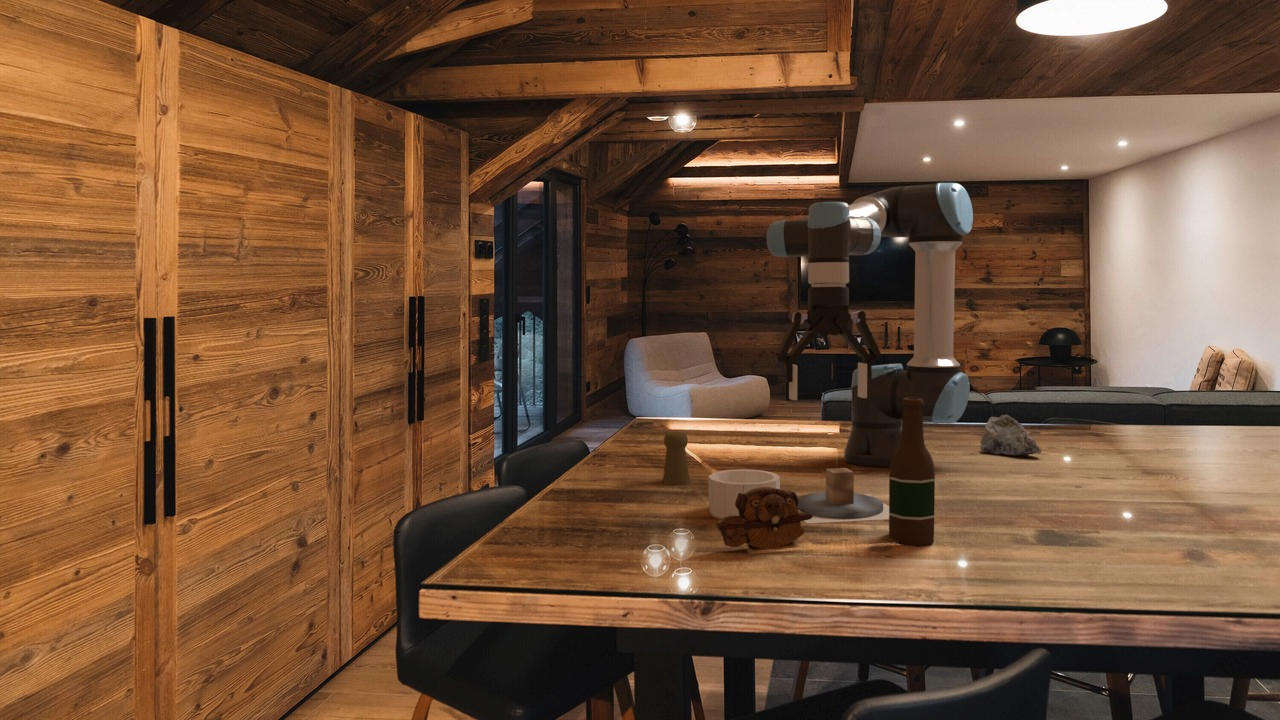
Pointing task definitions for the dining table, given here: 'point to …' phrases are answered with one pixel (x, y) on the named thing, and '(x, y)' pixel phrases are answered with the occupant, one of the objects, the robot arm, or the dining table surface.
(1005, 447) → the mineral rock
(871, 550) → the dining table surface
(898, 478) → the beer bottle
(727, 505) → the bowl
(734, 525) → the wooden carving
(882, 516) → the mat
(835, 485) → the lid
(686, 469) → the cork
